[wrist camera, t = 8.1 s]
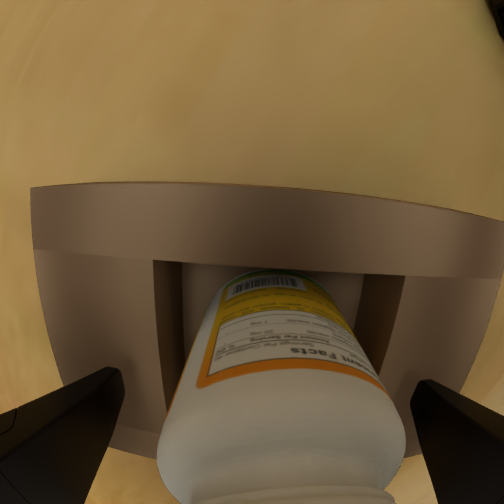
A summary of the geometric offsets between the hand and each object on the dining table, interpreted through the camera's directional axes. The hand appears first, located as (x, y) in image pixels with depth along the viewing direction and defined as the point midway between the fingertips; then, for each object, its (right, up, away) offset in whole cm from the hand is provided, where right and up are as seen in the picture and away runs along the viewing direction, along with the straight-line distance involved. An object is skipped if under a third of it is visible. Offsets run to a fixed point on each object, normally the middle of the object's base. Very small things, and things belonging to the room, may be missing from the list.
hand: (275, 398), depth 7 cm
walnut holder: (0, +1, +5) cm, 5 cm away
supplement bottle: (0, +1, +4) cm, 4 cm away
